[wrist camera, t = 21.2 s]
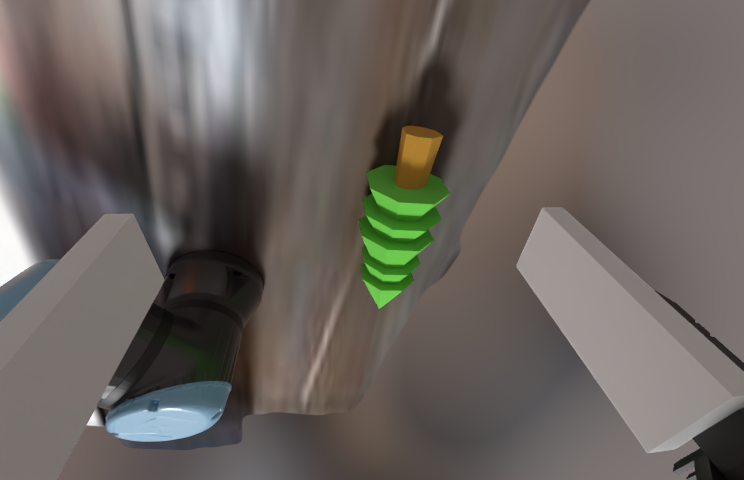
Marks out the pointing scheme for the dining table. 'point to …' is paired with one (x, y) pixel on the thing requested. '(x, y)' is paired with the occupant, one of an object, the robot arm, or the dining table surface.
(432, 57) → the dining table surface
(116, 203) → the dining table surface
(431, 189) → the decorative tree
